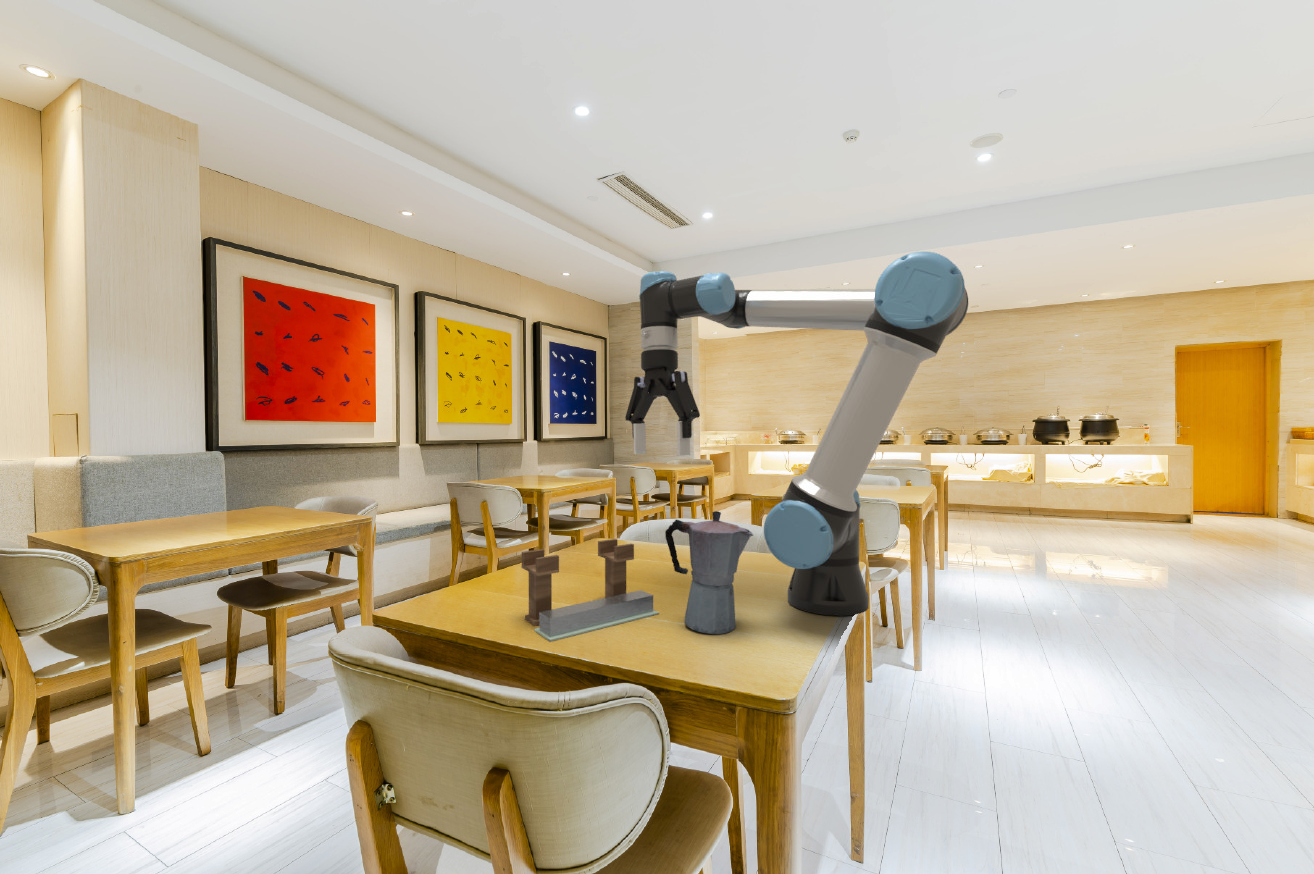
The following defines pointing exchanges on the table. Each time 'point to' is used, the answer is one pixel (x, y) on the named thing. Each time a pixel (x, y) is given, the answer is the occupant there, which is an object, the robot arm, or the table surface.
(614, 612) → the steel bar
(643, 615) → the green mat
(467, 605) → the table surface
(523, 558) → the walnut standards
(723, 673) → the table surface
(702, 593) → the moka pot
